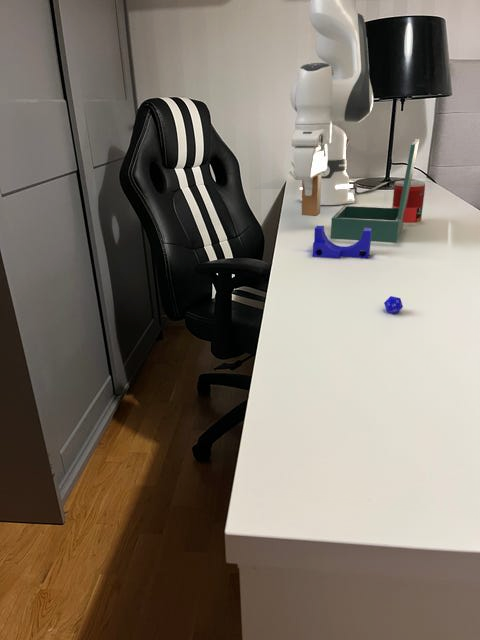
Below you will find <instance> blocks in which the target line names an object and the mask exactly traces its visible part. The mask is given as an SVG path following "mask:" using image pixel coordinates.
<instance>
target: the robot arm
mask: <svg viewBox="0 0 480 640" xmlns="http://www.w3.org/2000/svg"><path fill="white" fill-rule="evenodd" d="M356 1H357V0H310V1H309V20H310V23H311V25H312V27H313V28H314V30H315V31H316V45H315V49H316V50H315V51H316V56H317V57H318V58H319V59H320V60H321V61H322V62H313V63H307V64H306V63H305V64H303V65H301V66H300V67H299V69H298V72H297V78H296V81H295V82H294V84H293V85H292V88H291V90H290V94H289V95H290V97H289V98H290V104H291V106H292V108H293V109H294V112H296V119H295V122H294V125H295V126H294V133H293V135H292V137H291V147H293V171H294V173H293V174H294V177H295V179H296V180H299V181H302V180H303V183H304V187H305V195H306V196H311V195H312V194H313V187H312V182H313V177H315V176H317V175H319V174H321V201H320V206H339V205H345V204H354V203H355V196H354V194H356V195H363V194H367V193H370V192H373V191H375V190H378V189H379V188H381V187H384V186H385V185H388V184H387V183H388V182H389V184H393V183H395V182H396V181H402V180H405V178H399V179H394V180H389V181H386V182H383V183H381V184H378V185H377V186H375V187H373V188H370V189H367V190H365V191H360V192H359V191H358V187H357V185H356V184H357V182H356V180H355V181H354V180H350V177H349V175H348V174H347V171H346V170H347V164H348V162H347V158H346V152H347V150H346V149H347V135H346V133H345V131H344V129H342V128H341V127H339V126H338V125H335V124H333V123H332V122H347V123H360V122H362V121H363V120H365V118H367V117H368V116H369V115H370V114H371V112H372V109H373V105H374V92H373V86H372V83H371V79H370V77H371V76H370V63H369V62H370V61H369V48H368V37H367V27H366V22H365V19H364V15H362V14H361V13H359V12H357V2H356ZM332 71H333V72H332ZM299 190H301V191H302V186H301V187H299ZM352 190H354V193H352ZM299 202H302V196H301V197H299Z"/></svg>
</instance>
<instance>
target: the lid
mask: <svg viewBox="0 0 480 640" xmlns="http://www.w3.org/2000/svg"><path fill="white" fill-rule="evenodd" d="M419 144H420V139H418V138H415V140H414V141H412V143H411V145H410V148H409V154H408V160H407V164H406V170H405V175H404V179H405V180H404V185H403V191H402V196H401V201H400V206H399V212H398V217H397V219H400V220H401V218H402V216H403V213H404V211H405V208H406V205H407V200H408V195H409V190H410V185H411V180H413V175H414V170H415V165H416V164H415V163H416V159H417V154H418V149H419Z"/></svg>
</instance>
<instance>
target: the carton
mask: <svg viewBox="0 0 480 640" xmlns="http://www.w3.org/2000/svg"><path fill="white" fill-rule="evenodd" d="M301 181H302V182H301V187H302V190H301V197H302V201H301V216H303V217H304V216H306V217H307V216H308V217H317V216H319V215H320V214H321V205H320V201H321V174H319V175H317V176H315V177H313V182H312V187H313V194H312V195H311V196H306V195H305V187H304V183H303V180H301Z"/></svg>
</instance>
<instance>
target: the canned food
mask: <svg viewBox="0 0 480 640" xmlns="http://www.w3.org/2000/svg"><path fill="white" fill-rule="evenodd" d="M403 185H404V180H402V181H396V182H394V185H393V186H394V187H393V196H392V197H393V198H392V207H391V208H399V206H400V201H401V196H402V191H403ZM425 191H426V182H425V181H422V180H415V179H414V180H413V179H412V180H411V185H410V190H409V195H408V200H407V205H406V208H405V211H404V217H403V224H404V223H406V224H407V223H408V224H413V223H415V224H416V223H419V222H422V216H423V208H424V199H425V193H426V192H425Z"/></svg>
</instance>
